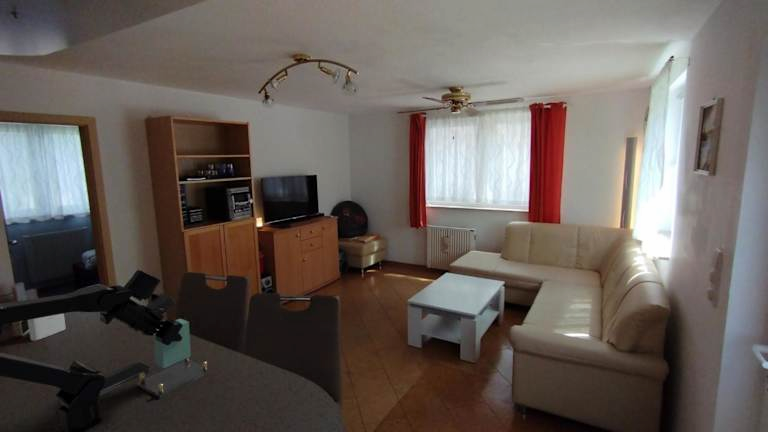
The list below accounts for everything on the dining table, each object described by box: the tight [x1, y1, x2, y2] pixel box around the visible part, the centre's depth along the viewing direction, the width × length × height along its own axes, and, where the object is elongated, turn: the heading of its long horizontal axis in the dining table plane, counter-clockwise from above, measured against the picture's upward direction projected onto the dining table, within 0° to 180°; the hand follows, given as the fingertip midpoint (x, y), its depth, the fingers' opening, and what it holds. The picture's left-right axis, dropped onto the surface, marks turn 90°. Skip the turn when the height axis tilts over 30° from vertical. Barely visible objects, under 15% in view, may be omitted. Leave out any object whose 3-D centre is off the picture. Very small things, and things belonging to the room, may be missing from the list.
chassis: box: [137, 357, 211, 399], centre depth 108 cm, size 15×12×4 cm
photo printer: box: [27, 313, 66, 342], centre depth 134 cm, size 10×4×12 cm, turn 160°
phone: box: [99, 361, 152, 396], centre depth 108 cm, size 8×1×15 cm
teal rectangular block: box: [153, 318, 192, 369], centre depth 107 cm, size 8×4×11 cm, turn 150°
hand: (176, 337), depth 108 cm, fingers closed on teal rectangular block, 4 cm apart
